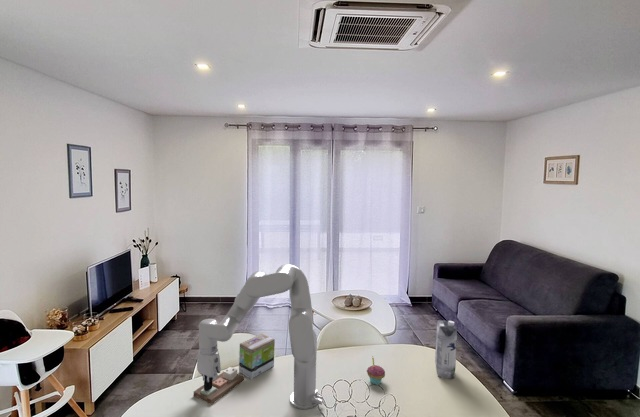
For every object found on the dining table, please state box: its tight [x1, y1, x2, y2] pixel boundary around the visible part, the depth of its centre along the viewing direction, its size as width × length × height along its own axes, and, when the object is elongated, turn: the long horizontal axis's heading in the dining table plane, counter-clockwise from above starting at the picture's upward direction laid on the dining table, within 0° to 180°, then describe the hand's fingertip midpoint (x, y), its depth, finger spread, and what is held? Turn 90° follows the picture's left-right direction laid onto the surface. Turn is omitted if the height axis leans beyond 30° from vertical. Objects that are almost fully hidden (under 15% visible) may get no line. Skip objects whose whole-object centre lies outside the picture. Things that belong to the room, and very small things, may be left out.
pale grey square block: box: [201, 386, 217, 396], centre depth 145 cm, size 5×5×3 cm
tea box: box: [238, 333, 276, 380], centre depth 166 cm, size 15×10×15 cm
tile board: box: [193, 372, 245, 405], centre depth 151 cm, size 11×20×2 cm, turn 151°
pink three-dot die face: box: [212, 378, 228, 388], centre depth 151 cm, size 5×5×3 cm
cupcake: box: [366, 355, 386, 385], centre depth 158 cm, size 9×8×12 cm
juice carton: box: [434, 319, 458, 380], centre depth 165 cm, size 9×10×27 cm
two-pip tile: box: [222, 366, 238, 381], centre depth 157 cm, size 5×5×3 cm
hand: (208, 388), depth 145 cm, fingers closed
